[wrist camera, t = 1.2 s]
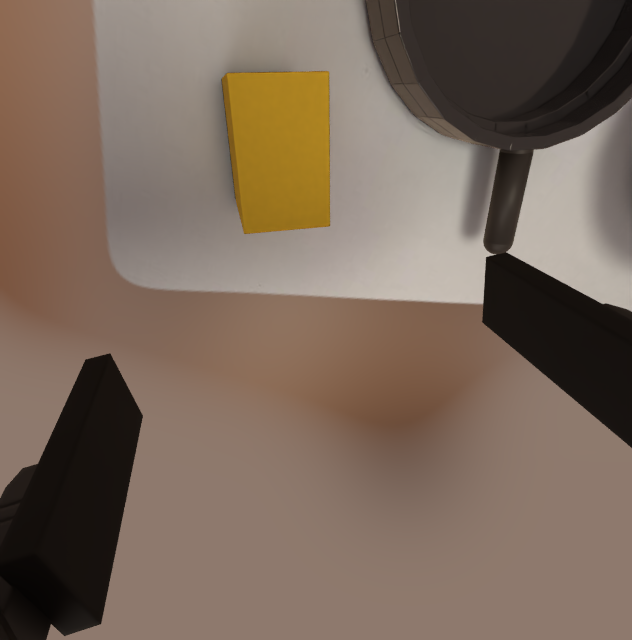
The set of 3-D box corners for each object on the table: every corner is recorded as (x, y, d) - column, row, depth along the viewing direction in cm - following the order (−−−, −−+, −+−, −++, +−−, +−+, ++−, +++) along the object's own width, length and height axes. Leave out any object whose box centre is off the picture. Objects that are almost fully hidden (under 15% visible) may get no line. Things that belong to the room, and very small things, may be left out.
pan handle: (496, 134, 27) (515, 136, 25) (523, 132, 27) (544, 135, 26) (475, 250, 31) (491, 259, 29) (499, 247, 31) (516, 256, 29)
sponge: (221, 78, 24) (226, 72, 17) (296, 77, 25) (329, 71, 18) (235, 199, 27) (244, 234, 21) (301, 194, 28) (330, 226, 22)
